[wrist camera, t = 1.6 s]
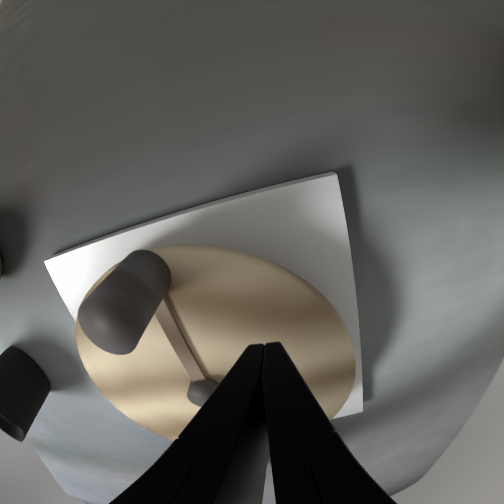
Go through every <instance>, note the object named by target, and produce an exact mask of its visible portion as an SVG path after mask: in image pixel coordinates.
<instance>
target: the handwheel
mask: <svg viewBox="0 0 504 504" xmlns="http://www.w3.org/2000/svg"><path fill="white" fill-rule="evenodd" d="M76 341H77V347H78V350H79V354H80V357H81V360H82V362H83V364H84V367H85V369H86V371H87V372H88V374H89V376H90V378H91V379H92V381H93V382H94V384H95V385H96V386H97V388H98V389H99V390H100V391H101V393H102V394H103V395H104V396H105V397H106V398H107V399H108V400H109V401H110V402H111V403H112V404H113V405H114V406H115V407H116V408H117V409H118V410H120V411H121V412H122V413H124V414H125V415H126V416H127V417H129V418H130V419H132V420H133V421H135V422H136V423H138V424H139V425H141V426H143V427H145V428H146V429H148V430H150V431H152V432H154V433H156V434H158V435H161V436H163V437H165V438H168V439H170V440H173V441H174V440H175V439H176V438H177V439H178V436H179V434H180V433H181V432H182V431H183V429H184V428H185V427H186V426H187V424H188V423H189V422H190V421H191V419H192V418H193V417H194V416H195V414H196V413H197V412H198V411H199V409H200V408H201V407H202V406H203V404H204V403H205V402H206V400H207V399H208V398H209V397H210V395H211V394H212V393H213V391H214V390H215V389H216V387H217V386H218V385H219V384H220V382H221V381H222V380H223V378H224V377H225V376H226V374H227V373H228V372H229V370H230V369H231V368H232V366H233V365H234V364H235V362H236V361H237V360H238V358H239V357H240V355H241V354H242V353H243V351H244V350H245V349H246V347H247V346H248V345H250V344H259V343H263V344H264V345H265V344H266V343H268V342H277V341H279V342H281V343H282V345H283V346H284V348H285V350H286V351H287V353H288V354H289V356H290V358H291V359H292V361H293V363H294V364H295V366H296V367H297V369H298V371H299V372H300V374H301V376H302V377H303V379H304V380H305V382H306V384H307V385H308V387H309V388H310V390H311V392H312V393H313V395H314V396H315V398H316V400H317V401H318V403H319V404H320V406H321V407H322V409H323V411H324V412H325V414H326V415H327V417H328V419H329V420H331V419H333V417H334V416H335V415H336V414H337V413H338V412H339V411H340V410H341V408H342V407H343V405H344V404H345V403H346V401H347V399H348V397H349V395H350V393H351V391H352V388H353V384H354V380H355V374H356V361H355V355H354V350H353V346H352V343H351V340H350V337H349V334H348V332H347V329H346V327H345V324H344V322H343V321H342V319H341V317H340V316H339V314H338V313H337V311H336V309H335V308H334V307H333V306H332V305H331V303H330V302H329V301H328V300H327V299H326V298H325V297H324V296H323V294H321V293H320V292H319V291H318V290H317V289H315V288H314V287H313V286H312V285H311V284H309V283H308V282H307V281H306V280H304V279H303V278H301V277H299V276H298V275H296V274H295V273H293V272H291V271H290V270H288V269H286V268H284V267H282V266H280V265H278V264H276V263H273V262H271V261H269V260H267V259H265V258H262V257H259V256H255V255H252V254H249V253H246V252H243V251H240V250H234V249H229V248H224V247H219V246H210V245H196V244H185V245H169V246H163V247H158V248H153V249H148V250H143V249H141V250H135V251H133V252H131V253H130V254H128V255H127V256H126V257H125V258H124V259H123V260H122V261H120V262H119V263H117V264H115V265H114V266H113V267H111V268H110V269H109V270H108V271H107V272H105V273H104V274H103V275H102V276H101V277H100V278H99V279H98V280H97V281H96V282H95V283H94V284H93V286H92V287H91V288H90V290H89V291H88V292H87V293H86V295H85V297H84V299H83V301H82V303H81V305H80V307H79V309H78V315H77V319H76Z"/></svg>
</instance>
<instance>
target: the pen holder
mask: <svg viewBox="0 0 504 504" xmlns="http://www.w3.org/2000/svg"><path fill="white" fill-rule="evenodd" d="M49 392H50V384H49V381H48V379H47V377H46V375H45V374H44V373H43V371H42V370H41V369H40V367H39V366H38V365H37V364H36V363H35V362H34V361H33V360H32V359H31V358H30V357H29V356H27V355H26V354H25V353H23V352H22V351H20V350H19V349H16V348H7V349H6V350H5V351H4V352H3V353H2V354H1V355H0V428H1V430H3V431H4V432H5V433H7V434H8V435H9V436H11V437H12V438H14V439H16V440H18V441H20V442H22V441H23V440H24V438H25V436H26V434H27V432H28V431H29V429H30V427H31V425H32V423H33V421H34V419H35V417H36V416H37V414H38V412H39V410H40V408H41V407H42V405H43V403H44V401H45V399H46V397H47V396H48V394H49Z"/></svg>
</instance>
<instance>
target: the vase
mask: <svg viewBox="0 0 504 504" xmlns="http://www.w3.org/2000/svg"><path fill="white" fill-rule="evenodd" d="M1 272H2V261H1V257H0V278H1Z"/></svg>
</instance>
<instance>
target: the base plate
mask: <svg viewBox="0 0 504 504" xmlns="http://www.w3.org/2000/svg"><path fill="white" fill-rule="evenodd" d="M185 244H196V245H210V246H219V247H224V248H229V249H234V250H240V251H243V252H246V253H249V254H252V255H255V256H259V257H262V258H265V259H267V260H269V261H271V262H273V263H276V264H278V265H280V266H282V267H284V268H286V269H288V270H290V271H291V272H293V273H295V274H296V275H298V276H299V277H301V278H303V279H304V280H306V281H307V282H308V283H309V284H311V285H312V286H313V287H314V288H315V289H317V290H318V291H319V292H320V293H321V294H323V296H324V297H325V298H326V299H327V300H328V301H329V302H330V303H331V305H332V306H333V307H334V308H335V309H336V311H337V313H338V314H339V316H340V317H341V319H342V321H343V322H344V324H345V327H346V329H347V332H348V334H349V337H350V340H351V343H352V346H353V350H354V355H355V361H356V374H355V380H354V384H353V388H352V391H351V393H350V395H349V397H348V399H347V401H346V403H345V404H344V405H343V407H342V408H341V410H340V411H339V412H338V413H337V414H336V415H335V416H334V417H333V419H334V418H339V417H343V416H348V415H352V414H356V413H360V412H363V387H362V361H361V343H360V330H359V318H358V307H357V297H356V288H355V280H354V272H353V264H352V257H351V250H350V244H349V237H348V231H347V225H346V219H345V213H344V208H343V203H342V197H341V192H340V187H339V182H338V178H337V174H336V173H334V172H333V171H332V172H328V173H323V174H319V175H314V176H310V177H306V178H301V179H297V180H293V181H289V182H285V183H281V184H277V185H273V186H269V187H265V188H261V189H257V190H253V191H249V192H246V193H242V194H238V195H234V196H231V197H227V198H224V199H220V200H216V201H213V202H209V203H206V204H203V205H199V206H196V207H192V208H189V209H186V210H182V211H179V212H176V213H173V214H169V215H166V216H163V217H160V218H157V219H153V220H150V221H147V222H144V223H141V224H138V225H135V226H132V227H129V228H126V229H123V230H120V231H117V232H114V233H112V234H109V235H106V236H103V237H100V238H97V239H95V240H92V241H89V242H86V243H84V244H81V245H78V246H76V247H73V248H70V249H68V250H65V251H62V252H60V253H57V254H55V255H52V256H51V257H49V258H48V259H47V260H45V261H44V263H45V265H46V267H47V269H48V271H49V273H50V275H51V277H52V279H53V281H54V283H55V285H56V287H57V289H58V291H59V293H60V295H61V297H62V299H63V300H64V302H65V304H66V306H67V308H68V309H69V311H70V313H71V315H72V316H73V318H74V320H75V321H76V319H77V315H78V309H79V307H80V305H81V303H82V301H83V299H84V297H85V295H86V293H87V292H88V291H89V290H90V288H91V287H92V286H93V284H94V283H95V282H96V281H97V280H98V279H99V278H100V277H101V276H102V275H103V274H104V273H105V272H107V271H108V270H109V269H110V268H111V267H113V266H114V265H115V264H117V263H119V262H120V261H122V260H123V259H124V258H125V257H126V256H127V255H128V254H130V253H131V252H133V251H135V250H141V249H143V250H148V249H153V248H158V247H163V246H169V245H185Z"/></svg>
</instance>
